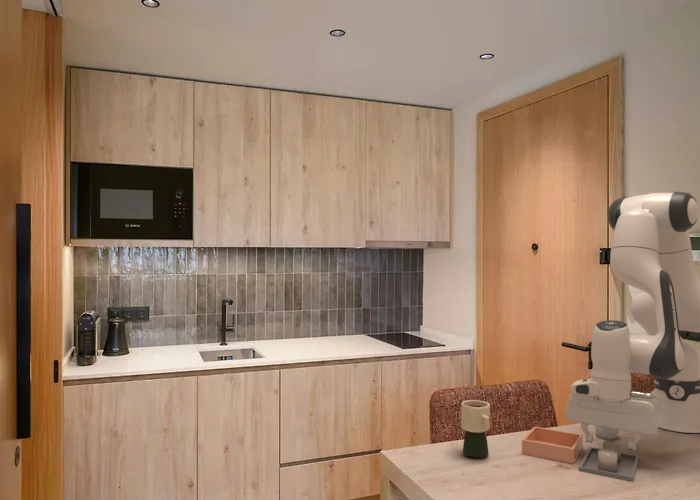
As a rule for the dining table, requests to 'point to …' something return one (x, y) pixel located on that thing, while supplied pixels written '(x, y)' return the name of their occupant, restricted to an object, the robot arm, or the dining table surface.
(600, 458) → the pebble
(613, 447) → the pebble
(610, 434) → the salt shaker
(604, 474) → the tray
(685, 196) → the robot arm
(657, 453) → the dining table surface
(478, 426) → the character mug
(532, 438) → the open box
